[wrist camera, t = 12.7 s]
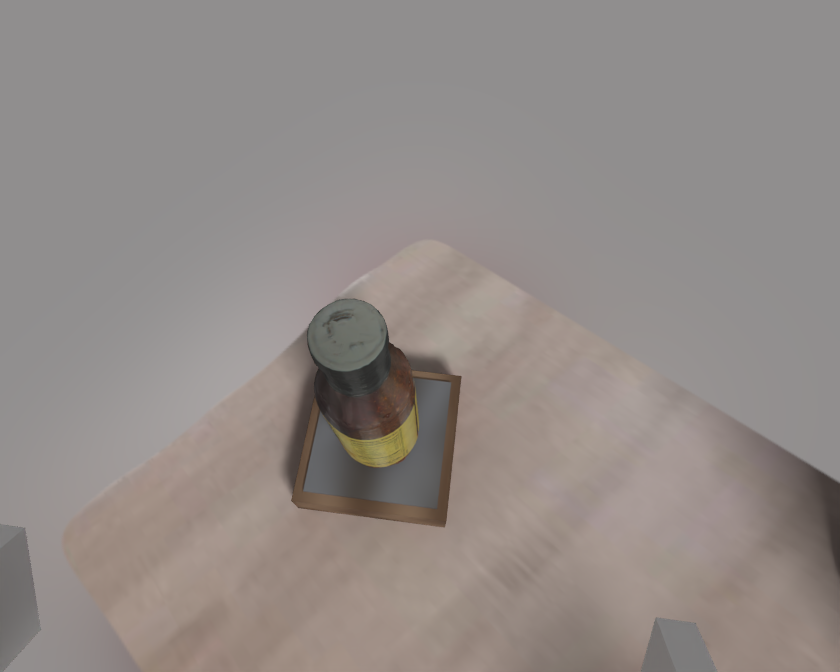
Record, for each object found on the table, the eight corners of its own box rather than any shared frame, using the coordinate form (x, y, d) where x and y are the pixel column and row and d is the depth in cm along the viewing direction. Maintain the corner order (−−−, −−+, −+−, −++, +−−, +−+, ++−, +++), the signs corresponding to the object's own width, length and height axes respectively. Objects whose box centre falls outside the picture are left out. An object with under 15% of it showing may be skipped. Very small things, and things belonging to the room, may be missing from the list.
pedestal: (459, 389, 52) (461, 374, 49) (444, 527, 47) (446, 520, 44) (327, 373, 53) (322, 358, 50) (298, 507, 47) (290, 499, 44)
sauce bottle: (354, 389, 48) (308, 257, 30) (427, 406, 48) (424, 279, 30) (331, 466, 46) (265, 369, 28) (408, 484, 45) (392, 397, 27)
